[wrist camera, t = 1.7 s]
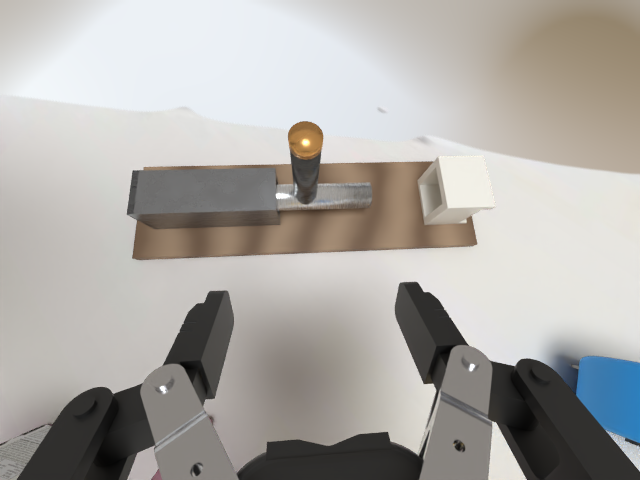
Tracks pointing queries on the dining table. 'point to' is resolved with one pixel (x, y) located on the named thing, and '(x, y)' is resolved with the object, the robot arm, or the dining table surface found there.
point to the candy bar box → (20, 452)
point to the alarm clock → (611, 394)
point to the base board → (319, 220)
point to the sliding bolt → (315, 177)
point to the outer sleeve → (204, 198)
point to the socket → (455, 189)
